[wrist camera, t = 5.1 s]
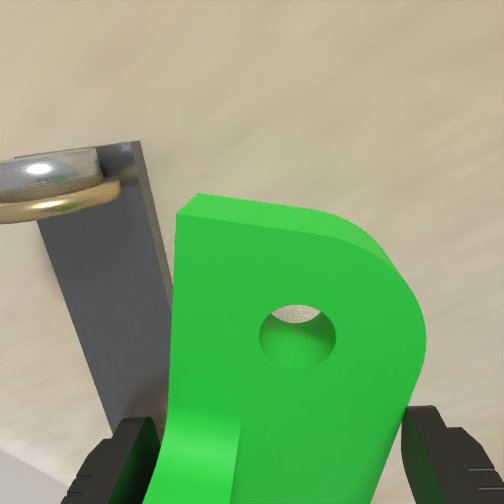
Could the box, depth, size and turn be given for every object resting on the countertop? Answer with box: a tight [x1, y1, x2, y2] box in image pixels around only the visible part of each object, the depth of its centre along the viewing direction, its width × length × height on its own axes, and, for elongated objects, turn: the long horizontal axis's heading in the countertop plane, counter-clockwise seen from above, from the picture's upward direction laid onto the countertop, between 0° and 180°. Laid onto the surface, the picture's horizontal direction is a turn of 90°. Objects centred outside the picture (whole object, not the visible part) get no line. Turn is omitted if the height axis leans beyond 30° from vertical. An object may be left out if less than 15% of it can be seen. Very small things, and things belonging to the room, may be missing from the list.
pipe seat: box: [0, 141, 173, 445], centre depth 18 cm, size 6×19×6 cm, turn 7°
